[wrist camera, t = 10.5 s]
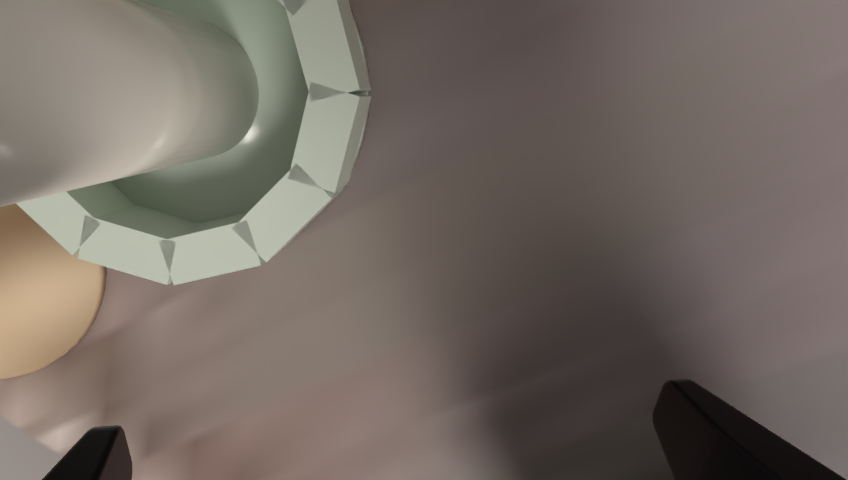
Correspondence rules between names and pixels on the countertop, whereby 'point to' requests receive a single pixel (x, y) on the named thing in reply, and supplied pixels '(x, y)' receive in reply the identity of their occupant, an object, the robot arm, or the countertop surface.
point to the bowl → (236, 155)
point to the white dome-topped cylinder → (113, 93)
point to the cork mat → (41, 295)
